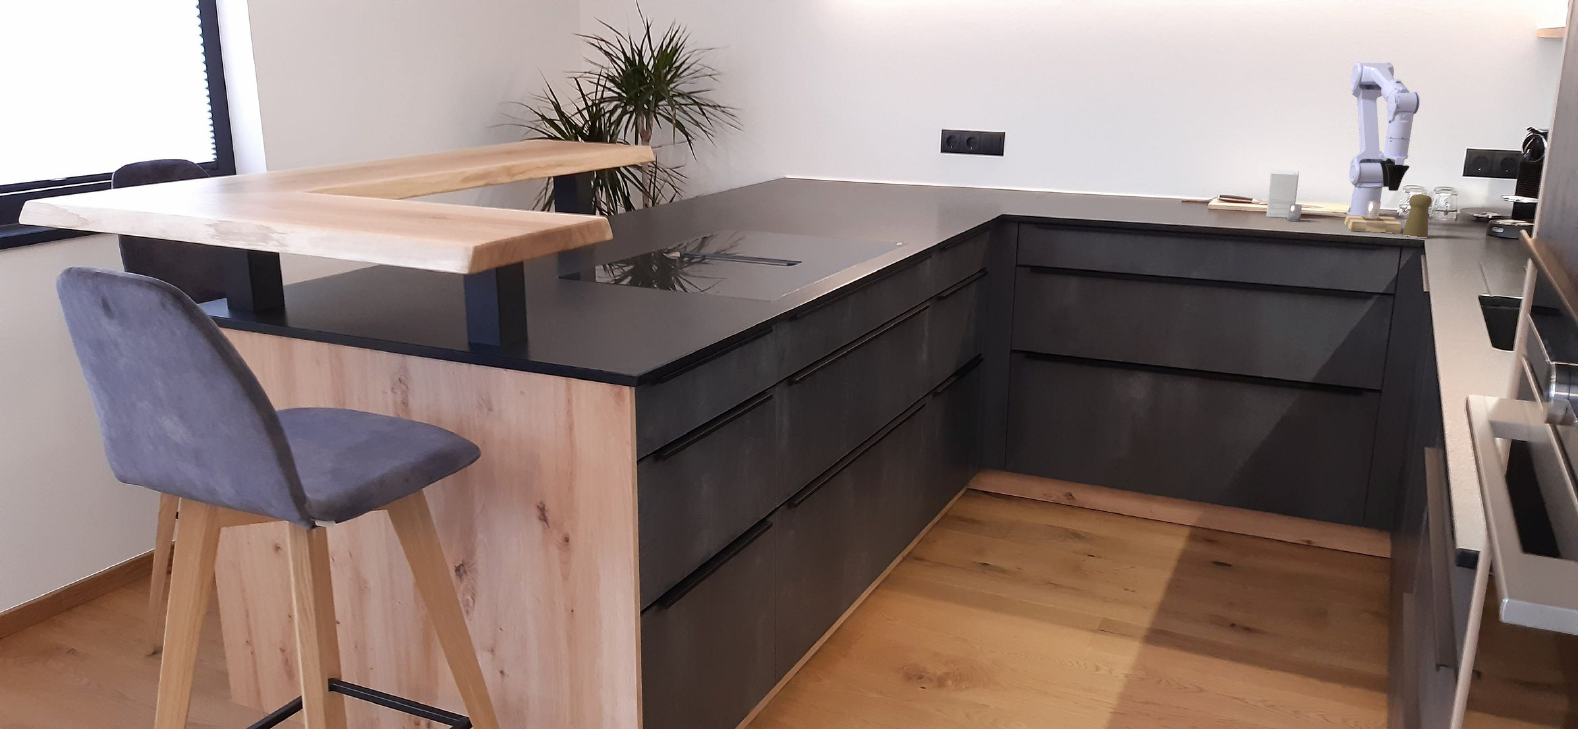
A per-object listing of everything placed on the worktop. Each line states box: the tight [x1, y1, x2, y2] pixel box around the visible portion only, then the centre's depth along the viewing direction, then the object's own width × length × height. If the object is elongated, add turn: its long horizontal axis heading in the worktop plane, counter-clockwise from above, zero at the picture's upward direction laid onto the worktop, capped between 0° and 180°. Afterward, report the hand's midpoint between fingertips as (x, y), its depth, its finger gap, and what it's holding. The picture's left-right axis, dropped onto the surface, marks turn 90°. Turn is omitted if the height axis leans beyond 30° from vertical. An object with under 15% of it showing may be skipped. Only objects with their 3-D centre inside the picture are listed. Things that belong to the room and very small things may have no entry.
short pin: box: [1287, 203, 1303, 223], centre depth 330 cm, size 3×3×4 cm
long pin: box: [1365, 200, 1382, 221], centre depth 318 cm, size 3×3×8 cm
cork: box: [1402, 193, 1433, 238], centre depth 306 cm, size 6×6×11 cm
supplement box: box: [1266, 169, 1300, 219], centre depth 337 cm, size 7×7×13 cm
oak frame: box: [1344, 214, 1402, 234], centre depth 318 cm, size 12×12×3 cm
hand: (1390, 188), depth 319 cm, fingers open, 7 cm apart
